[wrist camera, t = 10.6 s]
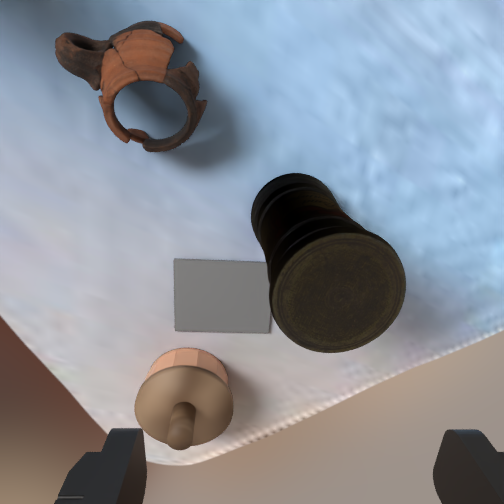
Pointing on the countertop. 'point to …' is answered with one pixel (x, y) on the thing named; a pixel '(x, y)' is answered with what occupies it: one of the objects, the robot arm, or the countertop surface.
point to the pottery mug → (133, 74)
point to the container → (324, 267)
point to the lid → (184, 406)
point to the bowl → (189, 361)
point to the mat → (221, 296)
